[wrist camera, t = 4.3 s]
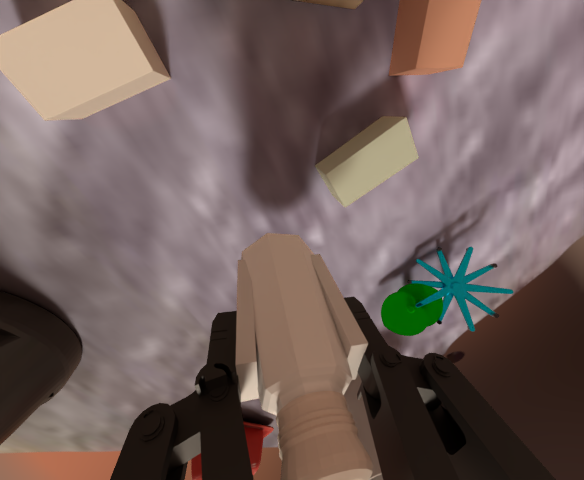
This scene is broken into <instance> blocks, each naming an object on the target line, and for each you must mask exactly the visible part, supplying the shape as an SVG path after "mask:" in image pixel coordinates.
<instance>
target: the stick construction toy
mask: <svg viewBox="0 0 584 480" xmlns="http://www.w3.org/2000/svg"><path fill="white" fill-rule="evenodd" d="M441 250H442V248H440V247H438V248H437V249H436V251H437V254H438V257H439V260H440V263H441V266H442V269H443V273H444V274H442V273H441V272H439V271H438V270H436V269H434V268H433V267H431V266H430V265H428V264H426V263H425V262H423V261H421V260H420V259H417V260H416V263H418V264H420V265H421V266H422V267H424V268H425V269H426V270H428V271H429V272H430V273H431V274H433V275H434V276H435V277H437V278H438V279H439V280H441V281H442V282H436V281H415V280H408V283H409V284H408V285H405V286H403V287H402V288H400V289H399V290H398V291H397V292H395V293H393V294H391V295H389V296H388V297H387V298H386V299H385V301H384V303H383V305H382V309H381V317H382V321H383V324H384V326H385V327H386V328H388V329H389V330H391V331H392V332H394V333H397V334H400V335H404V336H412V335H416V334H419V333H421V332H422V331H423V330H424V329H425V328H426V327H427V326H430V325H433V324H434V323H436V322H437V323H438V324H442V322H441V321H442V319H443V317H444V315H445V313H446V311H447V309H448V306H449V304H450V302H451V300H452V298H453V296H455V298H456V301H457V303H458V305H459V307H460V310H461V312H462V314H463V316H464V319H465V321H466V323H467V325H468V326H467V327H468V329H469V330H471V331H475V328H474V325H473V322H472V319H471V316H470V313H469V310H468V307H467V304H466V301H465V299H466V300H468V301H469V302H471V303H472V304H474V305H476V306H477V307H479V308H480V309H482V310H483V311H485V312H487V313H488V314H490V315H491V316H493V317H496V318H498V317H499V315H498V314H497V313H495V312H493V311H492V310H491V309H489V308H488V307H487V306H485V305H484V304H483V303H481V302H480V301H479V300H477V299H476V298H475V297H473V296H472V295H471V294H469V293H468V292H467V291H471V292H487V293H504V294H512V293H513V290H511V289H503V288H495V287H488V286H480V285H472V284H466V283H468V282H470V281H472V280H473V279H475V278H477V277H479V276H480V275H482V274H484V273H486V272H487V271H489V270H491V269H493V268H496V267H497V264H490V265H488V266H486V267H483V268H481V269H479V270H477V271H475V272H472V273H470V274H468V275H466V276H465V273H466V270H467V267H468V264H469V260H470V257H471V254H472V251H473V248H472V247H469V248H467V249H466V253H465V255H464V257H463V259H462V261H461V263H460V266H459V268H458V270H457V272H456V274H455V276H454V277H453V275H452V273H451V270H450V268H449V266H448V264H447V262H446V259H445V257H444V255H443V253H442V251H441ZM433 287H435V288H442V289H441V290H439V291H438V290H436V289H434V288H433ZM442 297H444V298H443V300H442Z"/></svg>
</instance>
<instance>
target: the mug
mask: <svg viewBox="0 0 584 480" xmlns="http://www.w3.org/2000/svg"><path fill="white" fill-rule="evenodd" d="M361 382H362V381H361V379H360V376H359V374H357V376H356V379H355V380H351V382H350V384H349V386H348V388H347V390H346V392H345V393H344V397H345V399H346V402H347V405H346V406H347V409H348V411H349V412H351V414H352V415H353V419H354V421H355V426H356V427H357V429H358V434H357V436H358V438H359V440H360V441H361V443H362V445H363V446H364V448H365V449H366V451H367V453H368V454H369V456H370V459H371V461H372V463H373V472H372V475H371V477H370V478H369V480H383V477H382V473H381V469H380V465H379V461H378V457H377V453H376V449H375V445H374V441H373V437H372V433H371V429H370V425H369V421H368V417H367V413H366V409H365V405H364V401H363V398H362V395H361V398H360V399H357V393H358V390H359V387H360V385H361Z"/></svg>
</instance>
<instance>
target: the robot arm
mask: <svg viewBox="0 0 584 480" xmlns="http://www.w3.org/2000/svg"><path fill="white" fill-rule="evenodd" d="M310 256H311V260H312V263H313V266H314V269H315V271H316V274H317V277H318V280H319V282H320V285H321V288H322V291H323V293H324V296H325V299H326V302H327V304H328V307H329V310H330V313H331V315H332V318H333V321H334V324H335V326H336V329H337V332H338V334H339V337H340V340H341V343H342V345H343V348H344V351H345V354H346V356H347V359H348V363H349V367H350V370H351V374H352V378H353V379H352V380H355V379H356V376H357V374H359V376H360V379H361V381H362V382H361V385H360V387H359V390H358V393H357V399H360V398H361V395H362V398H363V401H364V405H365V409H366V413H367V417H368V421H369V425H370V429H371V433H372V437H373V441H374V445H375V449H376V453H377V457H378V461H379V465H380V469H381V473H382V477H383V480H556V479H555V478H554V477H553V476H552V475H551V474H550V473H549V471H548V470H547V469H546V468H545V467H544V466H543V465H542V463H541V462H540V461H539V460H538V459H537V458H536V457H535V456H534V454H533V453H532V452H531V451H530V450H529V449H528V448H527V447H526V445H525V444H524V443H523V442H522V441H521V440H520V439H519V437H518V436H517V435H516V434H515V433H514V432H513V431H512V430H511V428H510V427H509V426H508V425H507V424H506V423H505V422H504V420H503V419H502V418H501V417H500V416H499V415H498V414H497V413H496V411H495V410H494V409H493V408H492V407H491V406H490V405H489V404H488V402H487V401H486V400H485V399H484V398H483V397H482V396H481V395H480V393H479V392H478V391H477V390H476V389H475V388H474V387H473V385H472V384H471V383H470V382H469V381H468V380H467V379H466V378H465V376H464V375H463V374H462V373H461V372H460V371H459V370H458V368H457V367H456V366H455V365H454V364H453V363H452V362H451V361H450V360H449V359H447V358H445V357H444V356H442V355H439V354H436V353H429V354H427V355H425V357H424V358H423V359H419V358H413V357H407V356H404V355H401V354H400V353H399V352H398V351H397V350H395V349H394V348H392V347H390V346H388V345H387V343H386V342H385V340H384V339H383V337H382V336H381V334H380V332H379V331H378V329H377V327H376V326H375V324H374V323H373V321H372V319H370V316H369V315H368V313H367V312H366V310H365V308H364V307H363V305H362V303H361V302H359V301H358V300H357V299H356V298H355V297H347V298H343V296H342V294H341V292H340V290H339V288H338V287H337V285H336V283H335V281H334V279H333V277H332V276H331V274H330V272H329V270H328V268H327V266H326V265H325V263H324V261H323V259H322V257H321V255H320V254H317V255H310ZM81 357H82V349H81V345H80V342H79V340H78V338H77V337H76V335H75V334H74V332H73V331H72V330H71V329H70V328H69V327H68V326H67V325H66V324H65V323H64V322H63V321H61V320H60V319H59V318H57V317H56V316H55V315H53V314H51V313H50V312H48V311H46V310H45V309H43V308H41V307H39V306H37V305H35V304H33V303H31V302H29V301H26V300H24V299H21V298H19V297H16V296H13V295H11V294H8V293H4V292H1V291H0V445H1V444H2V443H3V442H4V441H5V440H6V439H7V438H8V437H9V436H10V435H11V434H12V433H13V432H14V431H15V430H16V429H17V428H18V427H19V426H20V425H21V424H22V423H23V422H24V421H25V420H26V419H27V418H28V417H29V416H30V415H31V414H32V413H33V412H34V411H35V410H36V409H37V408H38V407H39V406H40V405H42V404H44V403H46V402H47V401H49V400H50V399H51V398H52V397H54V396H55V395H56V394H57V393H58V392H59V391H60V390H61V389H62V388H63V386H64V385H65V384H66V382H67V381H68V379H69V378H70V376H71V375H72V373H73V372H74V371H75V369H76V368H77V366H78V364H79V363H80V360H81ZM195 388H196V390H195V391H194V392H193V393H192V394H191V395H189V396H188V397H186V398H184V399H182V400H180V401H178V402H176V403H174V404H172V405H171V406H169V405H168V404H164V403H159V404H156V405H152V406H150V407H149V408H147V409H146V410H144V411H143V412H142V413H141V414H140V415H139V416H138V417H137V418H136V420H135V421H134V423H133V425H132V426H131V428H130V430H129V433H128V435H127V438H126V440H125V443H124V445H123V448H122V450H121V453H120V456H119V458H118V461H117V463H116V466H115V468H114V471H113V473H112V476H111V479H110V480H184V479H185V474H186V468H187V464H188V461H189V460H191V459H192V458H194V457H195V456H197V455H198V454H200V453H201V467H202V480H253V474H252V468H251V463H250V457H249V451H248V446H247V440H246V434H245V429H244V423H243V417H242V412H241V402H243V401H248V400H253V399H258V398H259V394H258V389H257V388H258V377H257V359H256V343H255V326H254V310H253V293H252V281H251V277H250V274H249V271H248V268H247V264H246V261H245V260H238V280H237V311H232V312H223V313H218V314H217V315H216V317H215V319H214V320H213V322H212V329H211V336H210V344H209V351H208V358H207V364H206V365H205V366H204V367H203V368H202V369H201V370H200V372H199V373H198V375H197V377H196V381H195Z"/></svg>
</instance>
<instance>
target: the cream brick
mask: <svg viewBox="0 0 584 480" xmlns="http://www.w3.org/2000/svg"><path fill="white" fill-rule="evenodd" d="M0 70H1V71H2V72H3V73H4V75H5V76H6V77H7V78H8V79H9V80H10V81H11V83H12V84H13V85H14V86H15V87H16V88H17V89H18V91H19V92H20V93H21V94H22V95H23V96H24V97H25V99H26V100H27V101H28V102H29V103H30V104H31V105H32V107H33V108H34V109H35V110H36V111H37V112H38V113H39V114H40V116H41V117H42V118H43V119H44V120H45V121H48V120H72V119H83V118H85V117H88V116H90V115H92V114H94V113H96V112H99V111H101V110H103V109H105V108H107V107H110V106H112V105H114V104H116V103H118V102H121V101H123V100H125V99H127V98H129V97H132V96H134V95H136V94H138V93H140V92H143V91H145V90H147V89H149V88H152V87H154V86H156V85H158V84H160V83H163V82H165V81H167V80H169V79H171V77H170V76H169V74H168V72H167V70H166V68H165V66H164V64H163V63H162V61H161V59H160V57H159V55H158V53H157V52H156V50H155V48H154V46H153V44H152V42H151V41H150V39H149V37H148V35H147V33H146V31H145V29H144V28H143V26H142V24H141V22H140V20H139V18H138V17H137V15H136V13H135V11H134V10H132V9H131V8H130V7H129V6H128V5H127V4H126V3H124V2H123V1H122V0H72V1H70V2H68V3H66V4H64V5H62V6H60V7H58V8H56V9H53V10H51V11H49V12H47V13H45V14H43V15H41V16H39V17H37V18H35V19H33V20H30V21H28V22H26V23H24V24H22V25H20V26H18V27H16V28H14V29H12V30H10V31H8V32H5V33H3V34H1V35H0Z"/></svg>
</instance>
